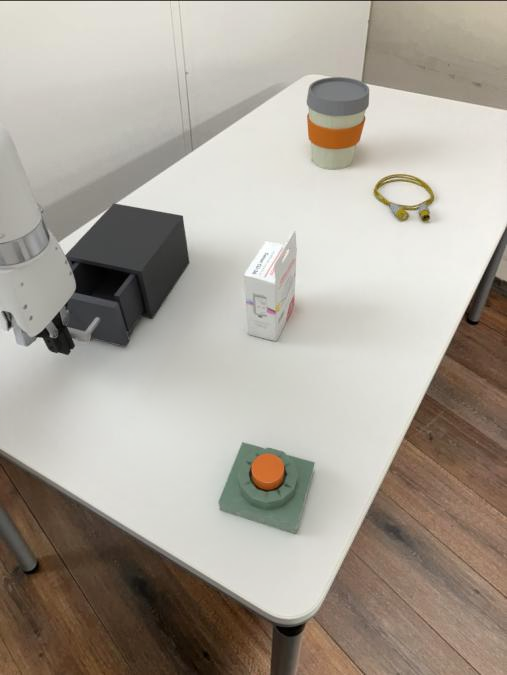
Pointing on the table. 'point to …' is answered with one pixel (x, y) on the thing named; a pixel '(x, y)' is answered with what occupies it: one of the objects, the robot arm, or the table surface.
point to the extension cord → (399, 209)
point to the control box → (267, 505)
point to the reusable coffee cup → (336, 120)
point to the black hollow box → (137, 249)
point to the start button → (267, 471)
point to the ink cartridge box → (271, 288)
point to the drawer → (104, 304)
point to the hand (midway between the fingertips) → (62, 348)
